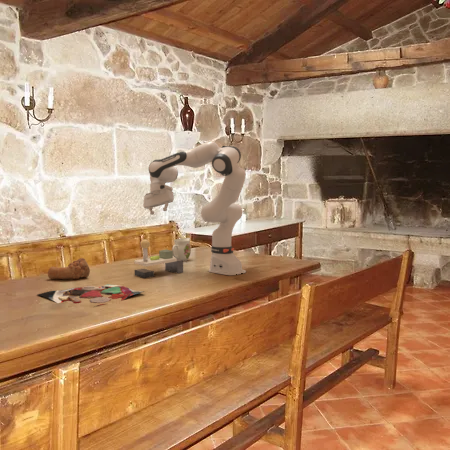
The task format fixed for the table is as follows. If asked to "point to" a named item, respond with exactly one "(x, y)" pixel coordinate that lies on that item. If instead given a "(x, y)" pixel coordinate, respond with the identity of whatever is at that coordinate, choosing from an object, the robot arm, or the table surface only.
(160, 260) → the plate
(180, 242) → the pitcher
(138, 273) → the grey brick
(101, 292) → the colourful flat sheet
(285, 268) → the table surface
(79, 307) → the table surface
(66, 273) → the clay pipe
